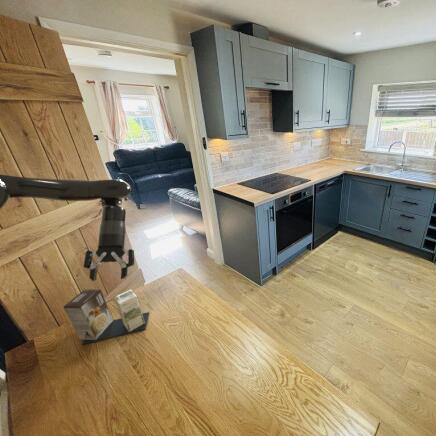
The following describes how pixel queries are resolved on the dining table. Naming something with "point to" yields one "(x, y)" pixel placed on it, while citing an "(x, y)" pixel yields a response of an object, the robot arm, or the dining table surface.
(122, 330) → the dark gray mat
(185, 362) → the dining table surface
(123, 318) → the syrup box
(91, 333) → the coffee box
